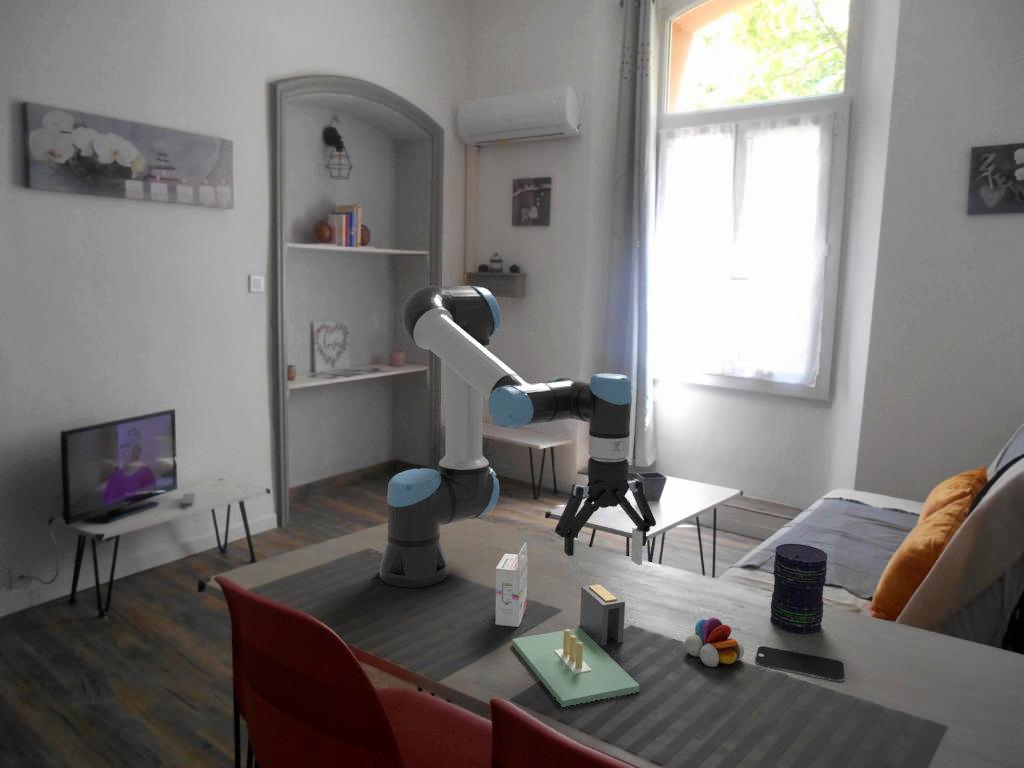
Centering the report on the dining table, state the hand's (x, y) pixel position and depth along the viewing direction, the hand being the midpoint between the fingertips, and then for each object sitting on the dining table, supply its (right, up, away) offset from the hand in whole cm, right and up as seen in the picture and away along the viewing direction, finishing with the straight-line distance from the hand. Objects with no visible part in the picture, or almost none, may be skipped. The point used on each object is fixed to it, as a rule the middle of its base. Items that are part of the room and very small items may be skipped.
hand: (605, 566), depth 148 cm
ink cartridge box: (-18, -12, +8) cm, 23 cm away
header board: (-7, -15, -11) cm, 20 cm away
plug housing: (-1, -13, +2) cm, 14 cm away
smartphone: (+34, -16, -8) cm, 38 cm away
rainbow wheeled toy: (+19, -15, -6) cm, 25 cm away
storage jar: (+39, -13, +8) cm, 42 cm away
